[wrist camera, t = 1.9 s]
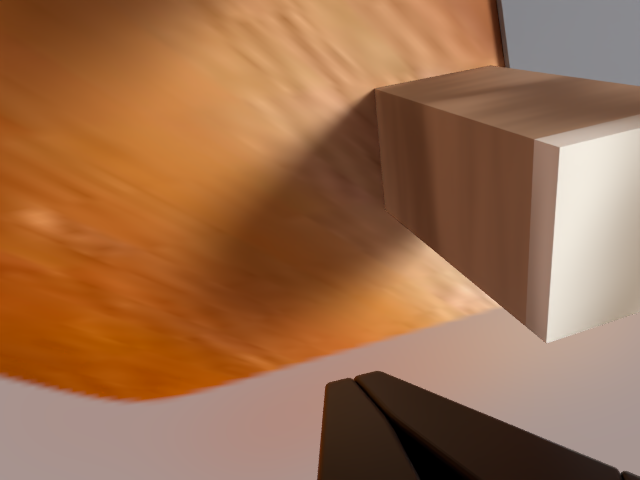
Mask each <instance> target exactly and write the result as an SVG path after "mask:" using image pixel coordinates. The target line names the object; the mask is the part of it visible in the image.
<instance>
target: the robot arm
mask: <svg viewBox="0 0 640 480" xmlns="http://www.w3.org/2000/svg"><path fill="white" fill-rule="evenodd" d="M317 480H640V476H637V475H635V474H633V473H630V472H628V471H623V472H621V474H620V472H619V471H618V469H617V468H615V467H613V466H610V465H608V464H605V463H603V462H600V461H598V460H596V459H593V458H591V457H588V456H586V455H583V454H581V453H578V452H576V451H574V450H571V449H568V448H566V447H564V446H561V445H559V444H557V443H554V442H552V441H549V440H547V439H544V438H542V437H540V436H537V435H535V434H532V433H530V432H527V431H525V430H523V429H520V428H518V427H515V426H513V425H510V424H508V423H505V422H503V421H501V420H498V419H496V418H493V417H491V416H488V415H486V414H484V413H481V412H479V411H476V410H474V409H471V408H469V407H466V406H464V405H462V404H459V403H457V402H454V401H452V400H449V399H447V398H444V397H442V396H440V395H437V394H435V393H432V392H430V391H428V390H425V389H423V388H420V387H418V386H415V385H413V384H411V383H408V382H406V381H403V380H401V379H398V378H396V377H393V376H391V375H389V374H386V373H384V372H381V371H374V372H370V373H366V374H362V375H358V376H356V377H355V378H354V380H353V379H351V378H346V379H341V380H338V381H333V382H329V383H328V384H327V385H326V387H325V398H324V408H323V419H322V431H321V442H320V454H319V466H318V476H317Z"/></svg>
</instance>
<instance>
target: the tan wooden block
mask: <svg viewBox="0 0 640 480" xmlns="http://www.w3.org/2000/svg"><path fill="white" fill-rule="evenodd" d="M374 91H375V102H376V114H377V125H378V136H379V147H380V159H381V170H382V181H383V192H384V204H385V210H386V211H387V212H388V213H389V214H391V215H392V216H393V217H394V218H395V219H397V220H398V221H399V222H400V223H401V224H403V225H404V226H405V227H406V228H407V229H409V230H410V231H411V232H412V233H414V234H415V235H416V236H417V237H418V238H420V239H421V240H422V241H423V242H424V243H426V244H427V245H428V246H429V247H430V248H432V249H433V250H434V251H435V252H436V253H438V254H439V255H440V256H441V257H443V258H444V259H445V260H446V261H447V262H449V263H450V264H451V265H452V266H453V267H455V268H456V269H457V270H458V271H459V272H461V273H462V274H463V275H464V276H465V277H467V278H468V279H469V280H470V281H472V282H473V283H474V284H475V285H476V286H478V287H479V288H480V289H481V290H482V291H484V292H485V293H486V294H487V295H488V296H490V297H491V298H492V299H493V300H494V301H496V302H497V303H498V304H499V305H501V306H502V307H503V308H504V309H505V310H507V311H508V312H509V313H510V314H512V315H513V316H514V317H515V318H516V319H517V320H519V321H520V322H521V323H522V324H523V325H525V326H526V327H527V328H528V329H530V330H531V331H532V332H533V333H534V334H536V335H537V336H538V337H539V338H540V339H542V340H543V341H544V342H545V343H548V342H552V341H555V340H558V339H561V338H564V337H567V336H570V335H573V334H576V333H579V332H582V331H585V330H588V329H591V328H594V327H597V326H600V325H603V324H606V323H609V322H612V321H615V320H618V319H621V318H624V317H627V316H630V315H633V314H636V313H639V312H640V86H635V85H627V84H620V83H613V82H606V81H598V80H591V79H584V78H577V77H570V76H562V75H555V74H548V73H541V72H534V71H526V70H519V69H512V68H505V67H498V66H486V67H481V68H476V69H471V70H466V71H461V72H456V73H451V74H446V75H440V76H435V77H430V78H425V79H420V80H415V81H410V82H405V83H400V84H395V85H390V86H385V87H380V88H375V89H374Z"/></svg>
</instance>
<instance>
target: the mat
mask: <svg viewBox="0 0 640 480" xmlns="http://www.w3.org/2000/svg"><path fill="white" fill-rule="evenodd" d="M497 7H498V15H499V22H500V30H501V37H502V45H503V52H504V60H505V68H512V69H519V70H526V71H534V72H541V73H548V74H555V75H562V76H570V77H577V78H584V79H591V80H598V81H606V82H613V83H620V84H627V85H635V86H640V0H497Z"/></svg>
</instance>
